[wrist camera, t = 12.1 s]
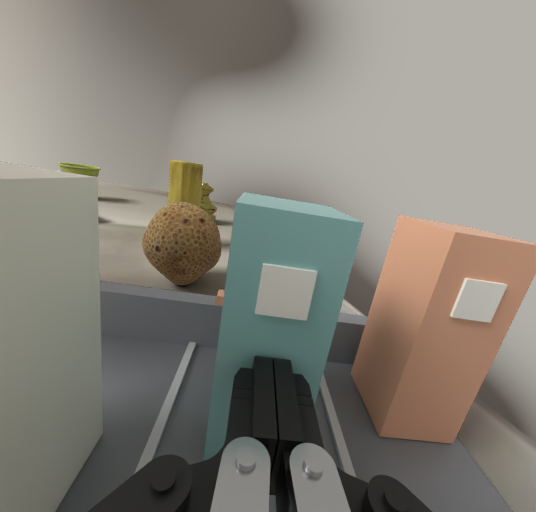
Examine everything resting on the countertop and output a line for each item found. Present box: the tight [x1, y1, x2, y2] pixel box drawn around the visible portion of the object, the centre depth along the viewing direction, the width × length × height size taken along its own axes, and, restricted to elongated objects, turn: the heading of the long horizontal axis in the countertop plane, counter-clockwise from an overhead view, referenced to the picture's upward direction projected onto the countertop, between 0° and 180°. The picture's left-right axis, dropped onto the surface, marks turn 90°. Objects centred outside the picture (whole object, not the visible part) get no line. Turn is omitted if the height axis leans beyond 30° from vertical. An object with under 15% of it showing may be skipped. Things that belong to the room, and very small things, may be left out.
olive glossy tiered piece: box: [200, 182, 217, 221], centre depth 69 cm, size 7×7×10 cm
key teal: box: [203, 193, 364, 460], centre depth 13 cm, size 5×4×12 cm
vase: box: [168, 160, 203, 207], centre depth 46 cm, size 6×6×14 cm
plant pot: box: [58, 163, 100, 177], centre depth 73 cm, size 9×9×9 cm
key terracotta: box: [351, 215, 536, 444], centre depth 16 cm, size 5×4×12 cm
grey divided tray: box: [55, 281, 513, 512], centre depth 14 cm, size 15×25×6 cm, turn 92°
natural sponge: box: [142, 202, 221, 285], centre depth 32 cm, size 9×9×10 cm
